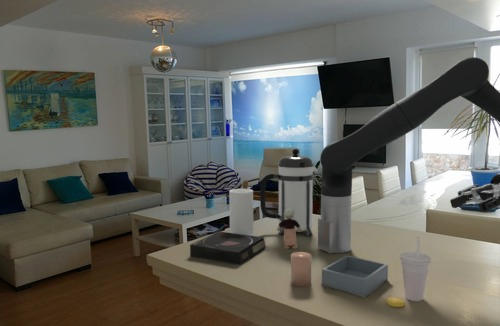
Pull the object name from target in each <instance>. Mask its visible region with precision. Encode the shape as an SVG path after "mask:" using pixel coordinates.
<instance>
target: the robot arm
mask: <svg viewBox="0 0 500 326" xmlns="http://www.w3.org/2000/svg"><path fill="white" fill-rule="evenodd" d="M489 75H490V69H489V65H488V63H487V62H486V61H485V60H484V59H482V58H480V57H476V56H475V57H465V58H464V59H461V60H459V61H457V62H455V64H453V65H452V66H451V67H450V68H447V70H446V71H444V72H443V73H441V75H439V76H438V77H437V78H435V79H433V80H432V81H431V82H429V83H427V84H426V85H424V86H423V87H421V88H418V89H417V90H415V91H413V92H412V93H410V94H408V95H407V96H405V97H403V98H401V99H399V100H397V101H396V102H394V103H393V104H391V105H390V106H388V107H387V108H385V109H383V110H382V111H380V112H379V113H378V114H376V115H375V116H373V117H372V118H371V119H370V120H369V121H368V122H366V123H365V124H364V125H363V126H362V127H360V128H358V129H357V130H356V131H354V132H353V133H351V134H349V135H347V136H345V137H343V138H341V139H339V140H337V141H334V142H331V143H329V144H327V145H326V146H325V147H323V149H322V151H321V154H320V164H321V166H322V168H321V171H322V172H321V185H320V217H319V218H318V219H317V248H318V249H320V250H321V251H324V252H325V253H326V252H327V253H328V254H334V253H335V254H343V253H347V252H350V251H351V249H352V247H351V245H352V242H351V240H352V197H353V196H352V191H353V190H352V188H353V165H354V164H356V163H357V162H358V161H360V160H361V159H362V158H364V157H365V156H367V155H369V154H370V153H372V152H373V151H375V150H377V149H379V148H382V147H384V146H386V145H389V144H391V143H392V142H394V141H396V140H398V139H399V138H401V137H403V136H405V135H406V134H409V133H410V132H412V131H413V130H415V129H417V128H418V127H419V126H421V125H422V124H423V123H424V122H426V121H427V120H428V119H429V118H431V117H432V116H433V115H434V114H435V113H436V112H437V111H439V109H441V108H442V107H443V106H445V105H447V103H449V102H452V101H453V100H455V99H457V98H459V97H461V98H463V99H465V100H466V101H467V102H470V103H471V104H473V105H475V106H476V107H478V108H479V109H481V110H482V111H484V112H485V113H486V114H488V115H489V116H491V117H492V118H493V119H495V120H496V121H497V122H498V123H499V124H500V91H499V90H498V89H497V88H496V87H494V85H493V84H492V83H491V82H490V80H488V79H489ZM457 195H458V196H456V197H453V198H451V199H450V201H449V202H450V206H451V208H453V209H458V208H459V207H461V206H463V205H465V204H467V203H475V204H477V203H478V207H479V211H480V212H481V213H486V212H489V211H490V210H492V209H495V208H500V172H498V173H495V174H494V175H493V176H492V177H491V179H490V182H489V183H486V184H483V185H482V186H479V184H478V183H475V184H472V185H470V186H468V187H465V188H464V189H462V190H458V191H457ZM478 197H479V198H478Z"/></svg>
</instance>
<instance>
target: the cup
mask: <svg viewBox="0 0 500 326" xmlns="http://www.w3.org/2000/svg"><path fill="white" fill-rule="evenodd" d="M228 195H229V196H228V199H229V204H228V205H229V233H234V234H242V235H249V236H254V190H253V189H250V188H233V189H230V190H229V193H228Z"/></svg>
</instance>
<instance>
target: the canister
mask: <svg viewBox="0 0 500 326" xmlns="http://www.w3.org/2000/svg"><path fill="white" fill-rule="evenodd" d="M290 284H291V285H292V286H296V287H308V286H311V284H312V254H311V253H308V252H305V251H296V252H292V253H291V254H290Z"/></svg>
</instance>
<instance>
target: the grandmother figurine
mask: <svg viewBox="0 0 500 326" xmlns="http://www.w3.org/2000/svg"><path fill="white" fill-rule="evenodd" d="M284 215H285V216H286V218H287V219H285V220H283V221H281V222H280V223H279V222H278V226H277V228H276V230H277V232H279V231H280V229H281V227H285V228H284V230H283V231H284V236H283V243H284V245H283V248H284V249H290V248H291V249H297V248H299V245H298V244H297V232H296V230H295V226H296V227H297V229H298V230H299V233H302V232H303V231H302V230H301V227H300V225H299V223H298V222H297V221H296V220H294V219H292V218H293V216H294V210H293V208H287V209H286V210H285V212H284Z"/></svg>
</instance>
